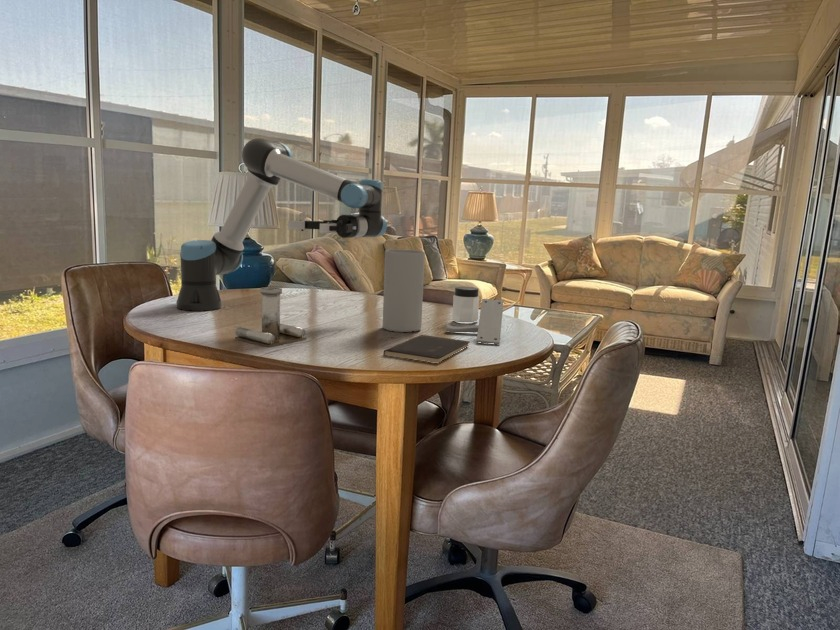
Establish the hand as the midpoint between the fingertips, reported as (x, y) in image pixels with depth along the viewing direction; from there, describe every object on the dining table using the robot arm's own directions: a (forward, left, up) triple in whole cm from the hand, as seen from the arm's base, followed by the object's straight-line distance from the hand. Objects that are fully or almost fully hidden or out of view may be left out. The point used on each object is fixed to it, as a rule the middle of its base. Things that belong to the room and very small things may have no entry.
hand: (304, 226), depth 192 cm
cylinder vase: (+22, +22, -32) cm, 45 cm away
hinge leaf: (+5, -18, -32) cm, 36 cm away
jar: (+30, +48, -32) cm, 65 cm away
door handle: (+45, +28, -32) cm, 62 cm away
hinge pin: (+5, -18, -31) cm, 36 cm away
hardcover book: (+45, +3, -32) cm, 56 cm away
